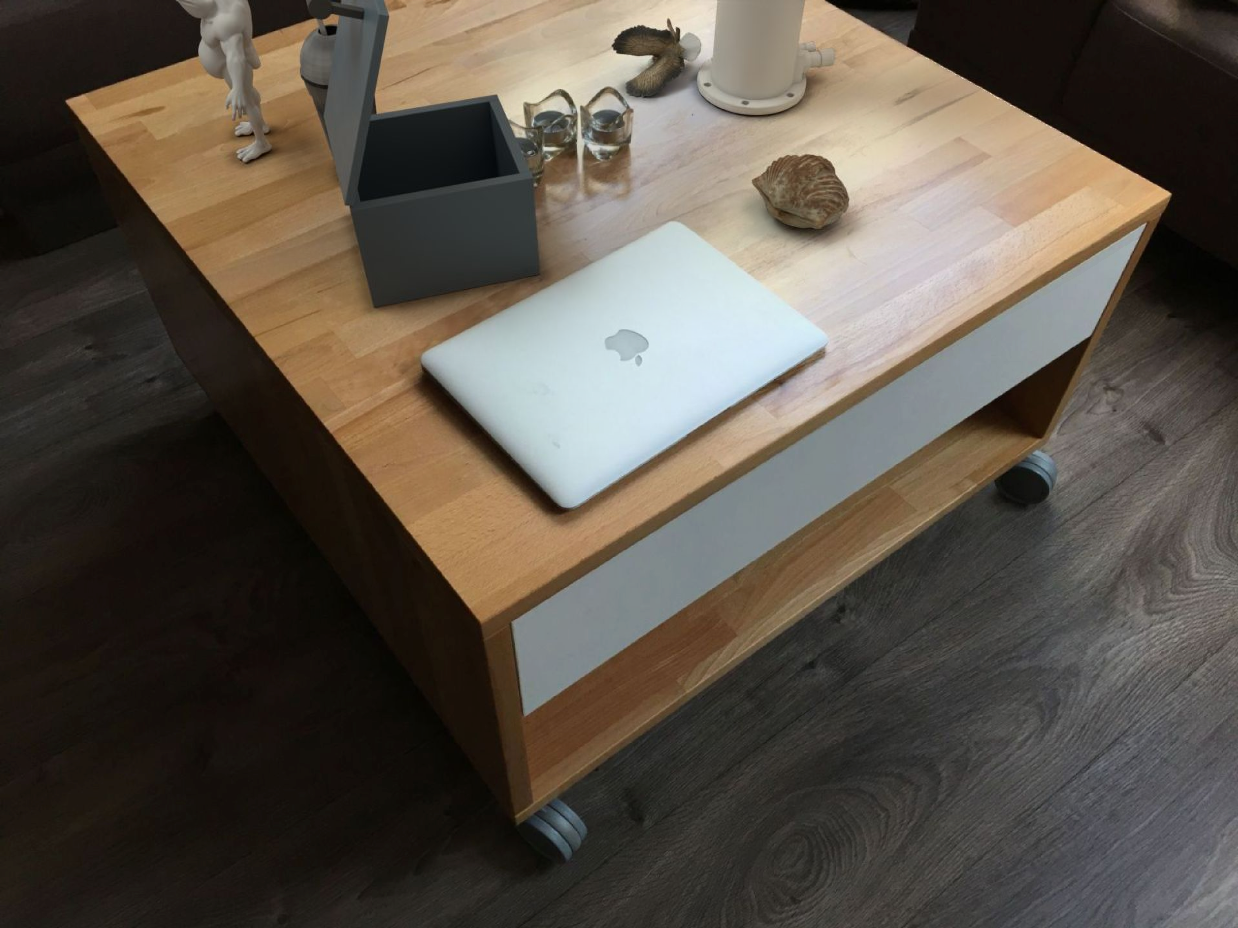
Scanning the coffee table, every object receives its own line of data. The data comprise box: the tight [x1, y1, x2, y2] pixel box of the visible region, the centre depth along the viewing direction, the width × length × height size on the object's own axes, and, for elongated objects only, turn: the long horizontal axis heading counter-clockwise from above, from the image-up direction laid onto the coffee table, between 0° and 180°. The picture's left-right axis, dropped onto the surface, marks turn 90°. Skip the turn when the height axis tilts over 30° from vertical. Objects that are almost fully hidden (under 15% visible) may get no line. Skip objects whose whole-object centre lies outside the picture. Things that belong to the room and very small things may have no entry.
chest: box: [348, 94, 541, 308], centre depth 96 cm, size 16×14×11 cm
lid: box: [305, 0, 390, 207], centre depth 84 cm, size 17×14×5 cm
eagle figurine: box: [610, 17, 702, 98], centre depth 118 cm, size 8×7×9 cm
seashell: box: [751, 153, 850, 230], centre depth 101 cm, size 9×7×8 cm
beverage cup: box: [299, 18, 378, 160], centre depth 101 cm, size 7×7×20 cm
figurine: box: [175, 0, 272, 163], centre depth 104 cm, size 18×7×18 cm, turn 16°
